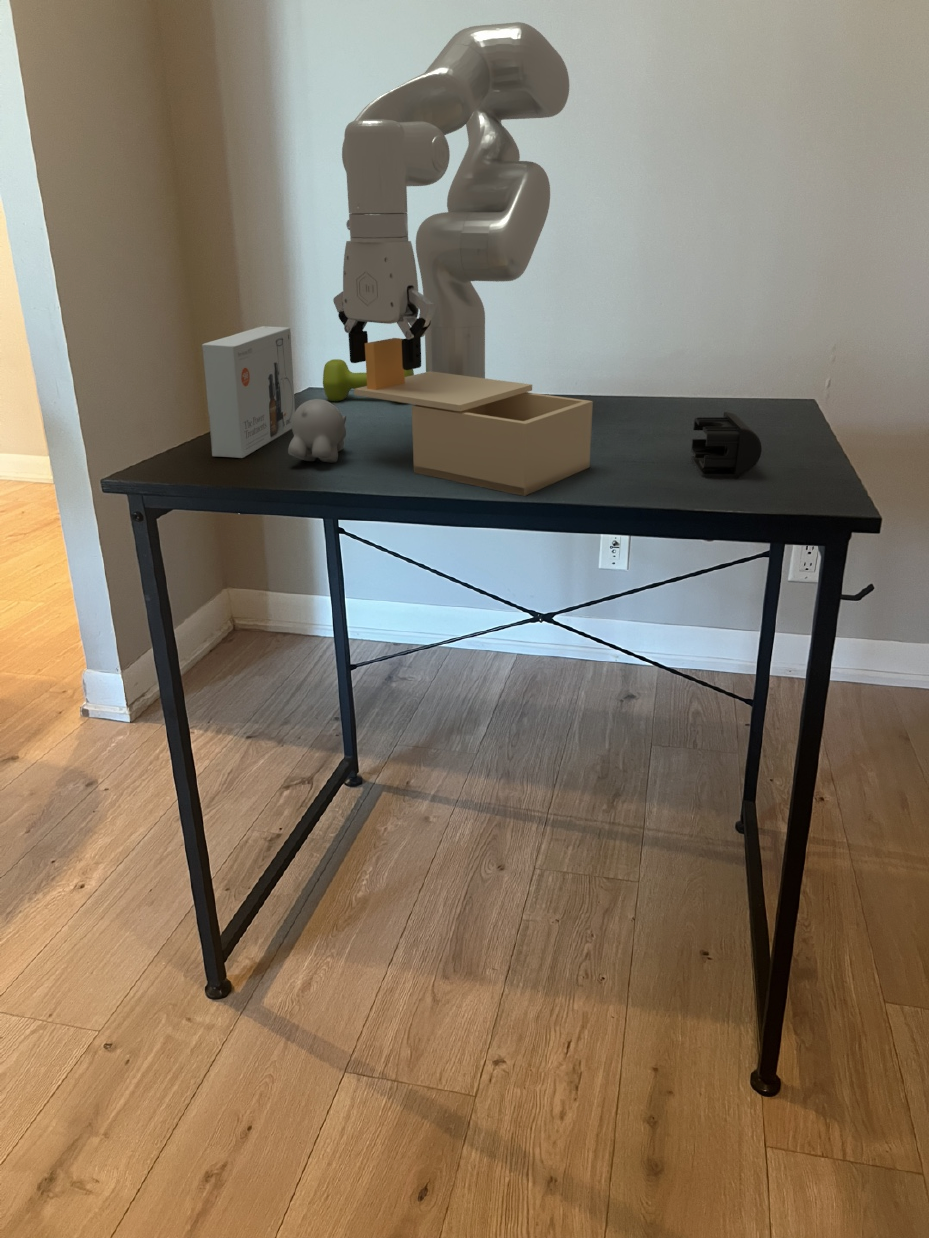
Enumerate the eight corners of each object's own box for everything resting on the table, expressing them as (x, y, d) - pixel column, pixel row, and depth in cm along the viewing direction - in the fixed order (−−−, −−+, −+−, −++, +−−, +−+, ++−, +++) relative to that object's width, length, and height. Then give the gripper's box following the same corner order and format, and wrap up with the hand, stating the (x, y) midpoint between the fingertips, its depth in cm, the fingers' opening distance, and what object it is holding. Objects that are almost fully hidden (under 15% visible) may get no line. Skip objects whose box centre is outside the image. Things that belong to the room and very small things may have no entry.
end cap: (758, 480, 116) (765, 428, 113) (703, 479, 116) (709, 428, 113) (740, 459, 125) (746, 411, 122) (689, 459, 125) (694, 411, 122)
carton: (483, 448, 131) (483, 386, 128) (589, 467, 121) (592, 401, 118) (413, 472, 120) (411, 405, 116) (524, 496, 110) (525, 424, 106)
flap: (430, 376, 133) (428, 329, 130) (532, 390, 123) (533, 339, 120) (354, 394, 121) (351, 343, 119) (460, 411, 111) (459, 356, 108)
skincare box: (246, 459, 127) (233, 345, 120) (211, 458, 128) (196, 344, 121) (300, 426, 146) (291, 325, 139) (269, 424, 147) (258, 324, 140)
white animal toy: (361, 470, 131) (367, 412, 130) (326, 459, 119) (333, 396, 119) (317, 466, 133) (323, 409, 132) (278, 455, 121) (285, 392, 121)
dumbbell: (320, 404, 162) (317, 363, 158) (334, 395, 169) (331, 356, 165) (408, 407, 159) (406, 365, 156) (418, 398, 166) (417, 358, 163)
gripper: (311, 229, 116) (321, 363, 124) (410, 231, 107) (415, 375, 114) (350, 228, 122) (358, 356, 129) (449, 229, 112) (451, 367, 120)
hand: (385, 365), depth 122 cm, fingers open, 9 cm apart
